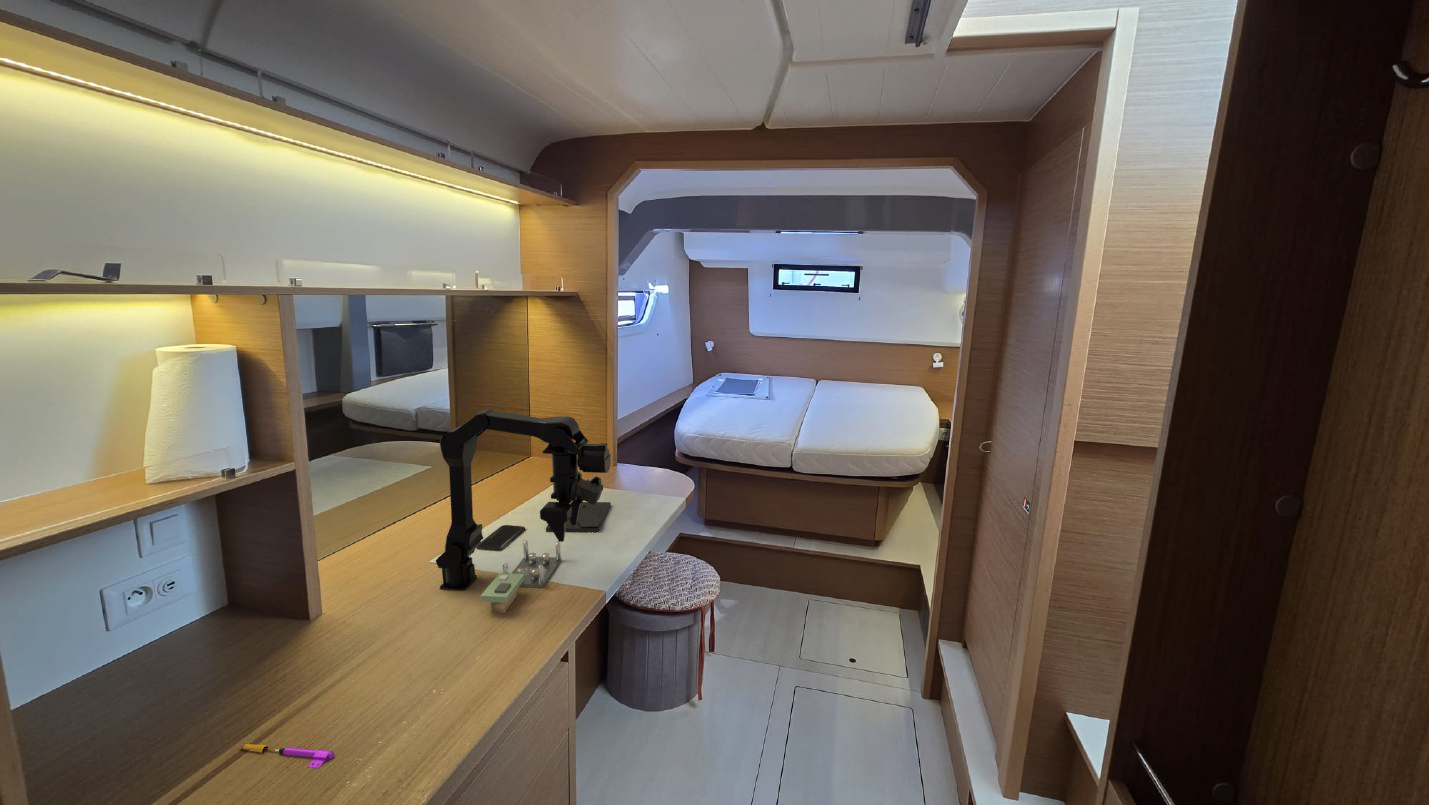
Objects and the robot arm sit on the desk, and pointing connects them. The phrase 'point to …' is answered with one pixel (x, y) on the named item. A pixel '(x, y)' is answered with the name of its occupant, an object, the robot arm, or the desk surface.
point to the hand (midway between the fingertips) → (567, 532)
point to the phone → (501, 538)
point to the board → (502, 588)
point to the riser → (502, 605)
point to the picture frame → (588, 518)
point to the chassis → (536, 567)
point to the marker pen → (300, 754)
